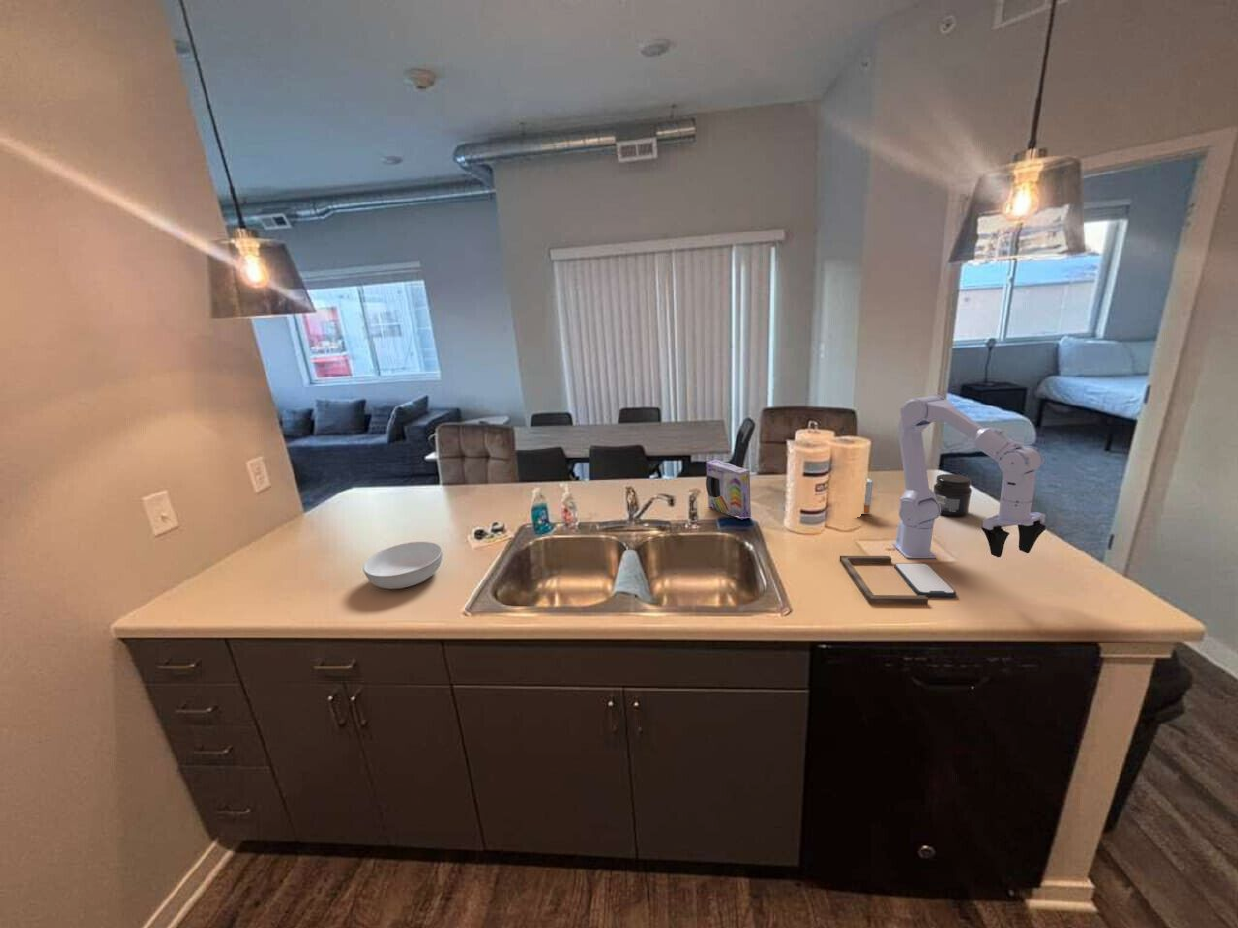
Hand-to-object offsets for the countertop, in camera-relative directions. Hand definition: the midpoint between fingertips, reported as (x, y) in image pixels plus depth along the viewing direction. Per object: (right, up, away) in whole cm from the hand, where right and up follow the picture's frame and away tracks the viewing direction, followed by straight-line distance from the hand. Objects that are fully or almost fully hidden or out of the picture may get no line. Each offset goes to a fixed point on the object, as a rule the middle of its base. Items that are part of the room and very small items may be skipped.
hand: (1010, 553), depth 118 cm
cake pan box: (-55, +4, +59) cm, 80 cm away
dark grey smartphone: (-16, -9, +8) cm, 20 cm away
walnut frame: (-26, -9, +9) cm, 29 cm away
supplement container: (+18, +5, +48) cm, 52 cm away
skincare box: (-11, +4, +52) cm, 53 cm away
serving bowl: (-154, -12, +24) cm, 156 cm away
